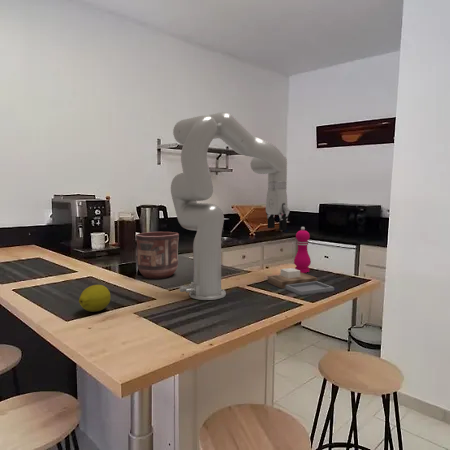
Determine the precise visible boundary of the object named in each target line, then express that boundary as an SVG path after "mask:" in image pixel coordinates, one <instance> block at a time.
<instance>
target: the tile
mask: <svg viewBox="0 0 450 450" xmlns="http://www.w3.org/2000/svg"><path fill="white" fill-rule="evenodd" d="M279 272H280V273H279V275H281V276H283V277H286V278H296V277H300V270H297V269H295V267H291V268H290V267H288V268H280V270H279Z"/></svg>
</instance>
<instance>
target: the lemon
mask: <svg viewBox="0 0 450 450" xmlns="http://www.w3.org/2000/svg"><path fill="white" fill-rule="evenodd" d="M111 297H112V296H111V292H110V290H109V288H108V287H106V286H105V285H103V284H93V285H90V286H88V287H86V288H84V290H82V292H81V293H80V296H79V299H78V303H79V305H80V306H81V308H82V309H83V310H85V311H87V312H92V313H95V312H100V311H102V310H104V309H105V308H107V306H109V304H110V302H111Z"/></svg>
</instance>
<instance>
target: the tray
mask: <svg viewBox="0 0 450 450" xmlns="http://www.w3.org/2000/svg"><path fill="white" fill-rule="evenodd" d="M284 290H287V291H289V292H292V293H293V294H295V295H298V296H300V297H303V296H304V297H305V296H312V295H317V294H324V293H325V294H326V293H332V292H335V287H334V286H332V285H330V284H329V285H328V284H326V283H323V282H321V281H318V280H317V281H314V282H306V283H297V284H289V285H285V288H284Z"/></svg>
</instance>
